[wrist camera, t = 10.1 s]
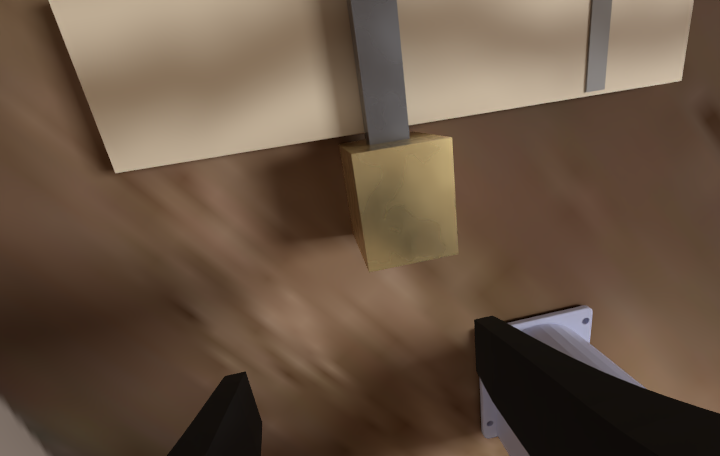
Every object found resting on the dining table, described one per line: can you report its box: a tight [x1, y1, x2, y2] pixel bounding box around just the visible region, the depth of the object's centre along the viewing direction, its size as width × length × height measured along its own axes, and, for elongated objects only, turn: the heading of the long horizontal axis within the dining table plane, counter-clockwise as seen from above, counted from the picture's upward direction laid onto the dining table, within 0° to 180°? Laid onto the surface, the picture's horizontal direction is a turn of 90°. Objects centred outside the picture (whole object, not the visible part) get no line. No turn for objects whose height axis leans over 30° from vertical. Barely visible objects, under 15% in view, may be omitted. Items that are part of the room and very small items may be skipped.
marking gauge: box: [339, 0, 458, 272], centre depth 15 cm, size 12×4×5 cm, turn 9°
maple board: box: [48, 0, 694, 173], centre depth 16 cm, size 7×28×2 cm, turn 99°
